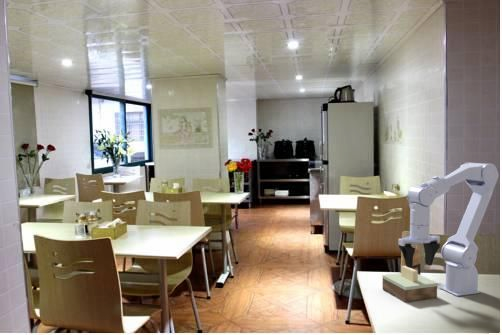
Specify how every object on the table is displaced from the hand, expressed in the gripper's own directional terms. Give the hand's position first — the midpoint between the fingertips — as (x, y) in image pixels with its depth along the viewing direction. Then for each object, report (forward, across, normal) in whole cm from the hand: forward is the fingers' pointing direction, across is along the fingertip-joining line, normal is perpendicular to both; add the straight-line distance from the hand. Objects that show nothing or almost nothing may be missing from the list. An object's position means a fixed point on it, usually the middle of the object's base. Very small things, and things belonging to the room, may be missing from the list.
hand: (418, 265), depth 132 cm
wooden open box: (+10, -1, +4) cm, 11 cm away
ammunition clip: (+11, +10, +16) cm, 21 cm away
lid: (+7, -1, +4) cm, 8 cm away
